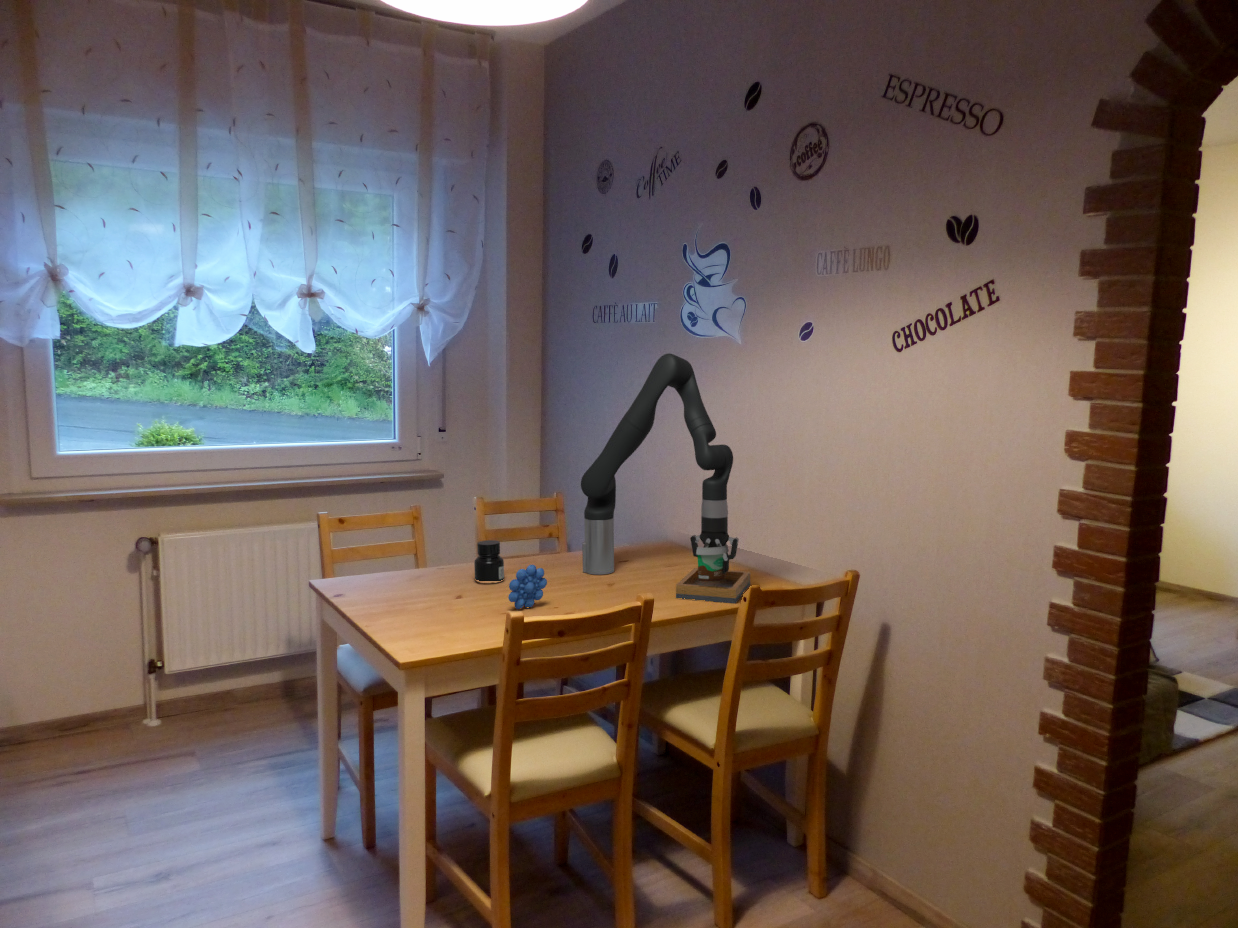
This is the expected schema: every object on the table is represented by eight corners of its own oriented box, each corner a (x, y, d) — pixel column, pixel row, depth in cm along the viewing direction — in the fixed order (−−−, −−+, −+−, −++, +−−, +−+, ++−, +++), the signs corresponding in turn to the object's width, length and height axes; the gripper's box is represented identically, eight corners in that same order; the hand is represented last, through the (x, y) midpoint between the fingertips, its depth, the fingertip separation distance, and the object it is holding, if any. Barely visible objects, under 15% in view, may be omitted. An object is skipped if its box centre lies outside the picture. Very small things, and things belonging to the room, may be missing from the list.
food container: (714, 584, 256) (714, 549, 255) (696, 581, 260) (696, 547, 258) (736, 575, 266) (736, 542, 265) (717, 573, 269) (717, 539, 268)
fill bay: (675, 598, 256) (675, 584, 256) (694, 580, 276) (694, 567, 276) (735, 603, 251) (735, 589, 250) (750, 584, 271) (750, 571, 270)
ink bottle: (508, 582, 276) (507, 543, 274) (480, 586, 272) (479, 546, 270) (498, 575, 284) (497, 538, 283) (470, 579, 280) (469, 540, 279)
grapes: (539, 601, 255) (538, 559, 253) (551, 606, 249) (550, 563, 248) (501, 608, 249) (500, 564, 247) (513, 613, 243) (512, 569, 242)
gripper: (686, 515, 260) (686, 573, 262) (736, 518, 255) (736, 577, 257) (693, 511, 267) (693, 567, 269) (741, 513, 262) (741, 570, 264)
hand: (714, 571), depth 263 cm, fingers closed on food container, 5 cm apart
